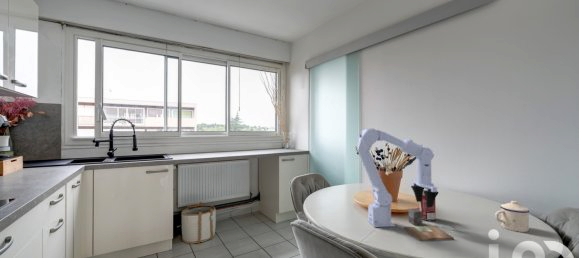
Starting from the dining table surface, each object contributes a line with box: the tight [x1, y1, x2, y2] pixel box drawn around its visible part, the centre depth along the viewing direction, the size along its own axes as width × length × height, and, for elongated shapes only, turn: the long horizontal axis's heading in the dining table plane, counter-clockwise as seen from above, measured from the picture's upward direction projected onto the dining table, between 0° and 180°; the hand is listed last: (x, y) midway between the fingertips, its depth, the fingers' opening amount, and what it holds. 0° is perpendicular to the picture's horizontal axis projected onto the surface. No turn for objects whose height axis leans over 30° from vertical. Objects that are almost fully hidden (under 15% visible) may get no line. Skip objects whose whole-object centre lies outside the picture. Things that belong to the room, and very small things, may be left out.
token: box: [408, 208, 423, 226], centre depth 109 cm, size 4×4×6 cm
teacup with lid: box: [494, 200, 530, 233], centre depth 103 cm, size 12×9×12 cm
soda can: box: [418, 192, 437, 222], centre depth 114 cm, size 7×7×12 cm
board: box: [403, 225, 455, 242], centre depth 97 cm, size 14×11×1 cm
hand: (424, 204), depth 107 cm, fingers open, 7 cm apart
